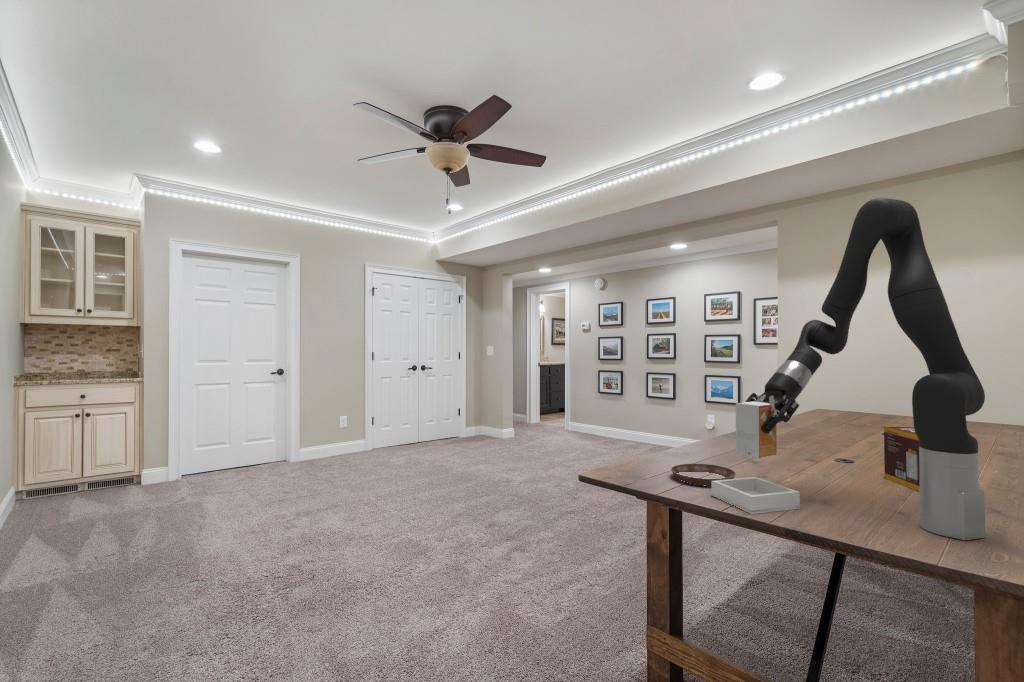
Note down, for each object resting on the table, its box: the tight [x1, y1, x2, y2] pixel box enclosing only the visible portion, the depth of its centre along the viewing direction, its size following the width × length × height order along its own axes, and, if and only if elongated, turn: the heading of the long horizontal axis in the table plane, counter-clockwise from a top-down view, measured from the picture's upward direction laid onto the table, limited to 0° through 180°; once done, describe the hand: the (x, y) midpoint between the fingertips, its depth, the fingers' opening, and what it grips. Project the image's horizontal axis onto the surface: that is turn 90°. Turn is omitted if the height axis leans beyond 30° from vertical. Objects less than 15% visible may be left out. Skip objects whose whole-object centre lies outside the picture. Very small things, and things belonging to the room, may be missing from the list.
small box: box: [735, 401, 778, 459], centre depth 121 cm, size 8×6×13 cm
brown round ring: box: [670, 463, 737, 487], centre depth 140 cm, size 18×18×3 cm
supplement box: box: [883, 425, 920, 493], centre depth 134 cm, size 10×15×16 cm
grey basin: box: [710, 476, 801, 515], centre depth 120 cm, size 14×14×4 cm
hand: (751, 428), depth 120 cm, fingers closed on small box, 8 cm apart
